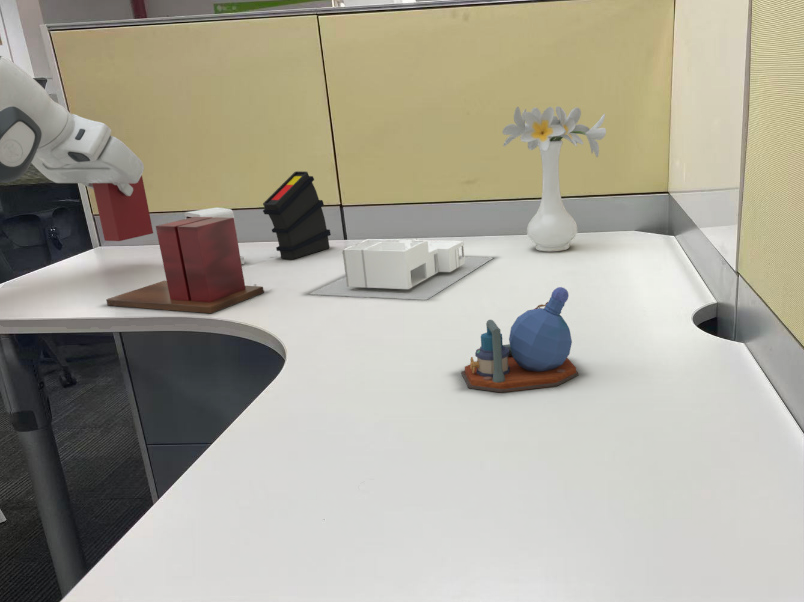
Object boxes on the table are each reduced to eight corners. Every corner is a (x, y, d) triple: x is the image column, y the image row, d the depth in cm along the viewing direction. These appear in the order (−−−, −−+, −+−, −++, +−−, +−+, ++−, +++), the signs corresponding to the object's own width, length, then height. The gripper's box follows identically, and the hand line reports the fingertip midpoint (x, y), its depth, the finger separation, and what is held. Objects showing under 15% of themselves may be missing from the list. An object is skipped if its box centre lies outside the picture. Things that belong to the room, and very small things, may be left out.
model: (561, 355, 92) (559, 275, 88) (586, 382, 83) (585, 295, 80) (457, 367, 89) (452, 285, 86) (472, 396, 81) (466, 307, 78)
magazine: (341, 236, 160) (310, 170, 149) (304, 278, 152) (269, 211, 142) (326, 235, 161) (294, 170, 151) (289, 277, 154) (253, 211, 143)
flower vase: (616, 248, 146) (616, 102, 137) (520, 259, 140) (514, 108, 131) (586, 236, 157) (584, 101, 148) (496, 246, 152) (489, 106, 143)
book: (119, 241, 142) (106, 177, 138) (104, 240, 144) (90, 177, 140) (153, 233, 149) (141, 172, 145) (139, 232, 150) (126, 172, 147)
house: (431, 297, 117) (428, 256, 115) (321, 291, 123) (316, 253, 121) (485, 263, 137) (483, 227, 135) (388, 260, 143) (385, 226, 140)
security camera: (193, 267, 147) (183, 211, 143) (229, 260, 151) (219, 206, 148) (210, 271, 142) (200, 214, 139) (246, 264, 147) (237, 208, 144)
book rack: (211, 313, 116) (196, 230, 111) (107, 305, 123) (89, 226, 118) (264, 292, 126) (251, 215, 122) (165, 286, 133) (150, 213, 129)
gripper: (5, 155, 134) (68, 206, 146) (96, 154, 127) (155, 208, 139) (22, 126, 136) (83, 178, 148) (113, 123, 129) (169, 178, 141)
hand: (118, 192), depth 143 cm, fingers closed on book, 3 cm apart
